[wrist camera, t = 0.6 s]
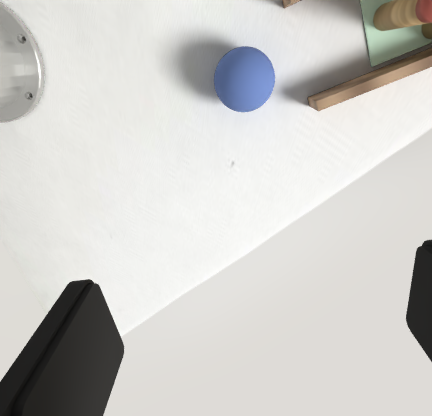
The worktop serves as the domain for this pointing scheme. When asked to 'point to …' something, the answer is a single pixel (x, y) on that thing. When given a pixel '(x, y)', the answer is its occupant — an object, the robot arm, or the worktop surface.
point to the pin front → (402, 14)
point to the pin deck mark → (389, 36)
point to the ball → (244, 79)
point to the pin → (427, 30)
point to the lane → (369, 77)
